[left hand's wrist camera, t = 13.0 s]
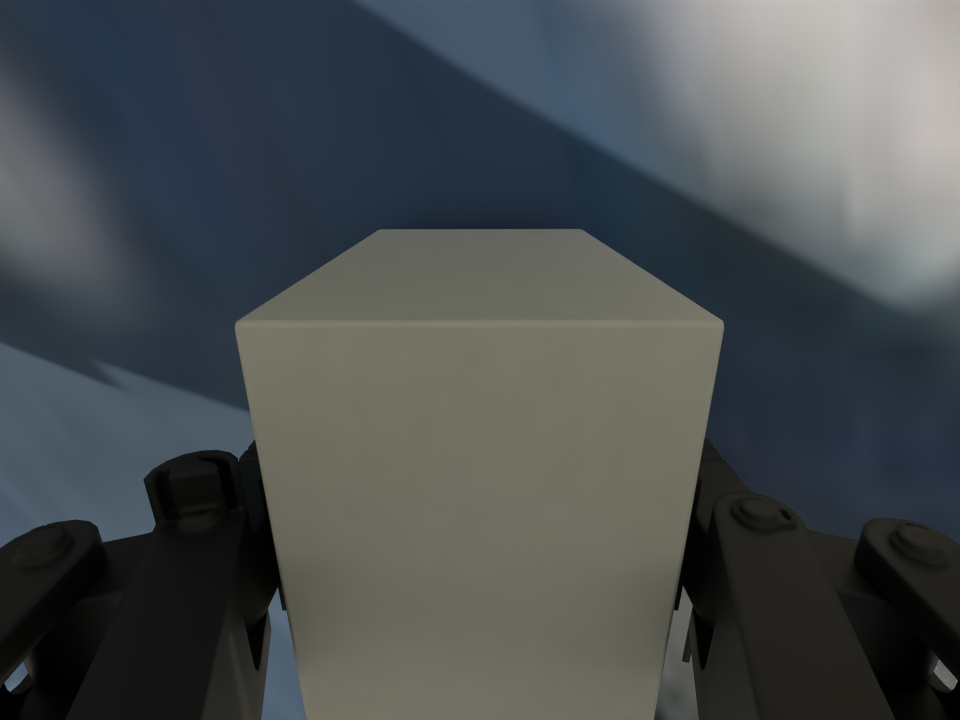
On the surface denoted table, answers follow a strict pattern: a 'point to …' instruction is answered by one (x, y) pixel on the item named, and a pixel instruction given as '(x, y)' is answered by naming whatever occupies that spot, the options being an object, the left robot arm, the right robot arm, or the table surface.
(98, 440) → the table surface
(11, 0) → the table surface
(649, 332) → the beige long bar
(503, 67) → the table surface
